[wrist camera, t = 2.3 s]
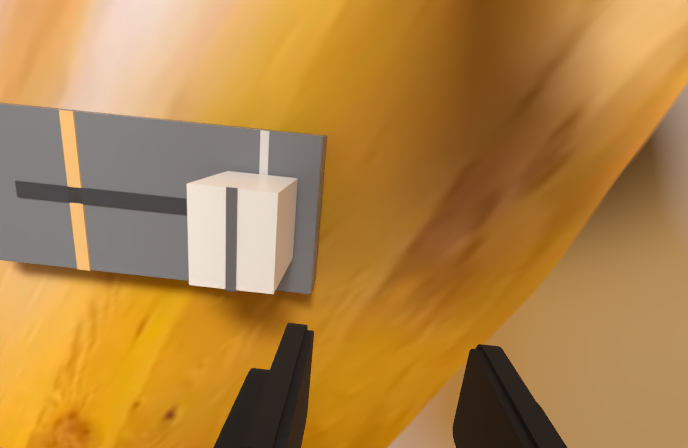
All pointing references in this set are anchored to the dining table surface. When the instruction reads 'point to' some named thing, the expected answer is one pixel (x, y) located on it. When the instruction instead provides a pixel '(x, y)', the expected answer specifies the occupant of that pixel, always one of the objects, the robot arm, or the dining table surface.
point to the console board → (136, 188)
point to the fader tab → (240, 230)
